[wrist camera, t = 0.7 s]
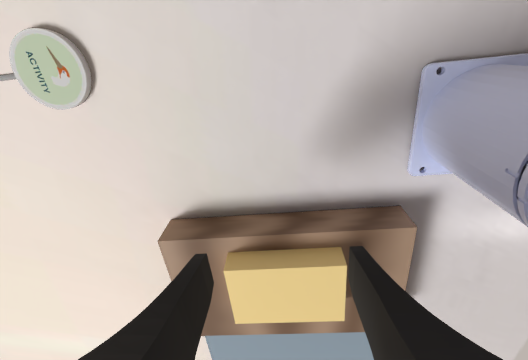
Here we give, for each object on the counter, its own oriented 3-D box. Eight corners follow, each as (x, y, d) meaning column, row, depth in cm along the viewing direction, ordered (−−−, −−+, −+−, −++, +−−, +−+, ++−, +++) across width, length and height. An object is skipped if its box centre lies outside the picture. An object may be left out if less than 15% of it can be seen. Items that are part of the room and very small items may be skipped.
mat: (385, 307, 28) (386, 310, 27) (373, 386, 34) (375, 389, 34) (199, 312, 30) (198, 316, 29) (222, 387, 36) (222, 390, 36)
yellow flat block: (341, 246, 21) (347, 265, 19) (339, 300, 23) (344, 321, 22) (227, 252, 22) (223, 271, 20) (238, 303, 24) (235, 323, 22)
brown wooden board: (400, 205, 22) (417, 227, 20) (386, 303, 28) (397, 331, 25) (170, 219, 24) (157, 241, 21) (198, 309, 29) (190, 336, 27)
